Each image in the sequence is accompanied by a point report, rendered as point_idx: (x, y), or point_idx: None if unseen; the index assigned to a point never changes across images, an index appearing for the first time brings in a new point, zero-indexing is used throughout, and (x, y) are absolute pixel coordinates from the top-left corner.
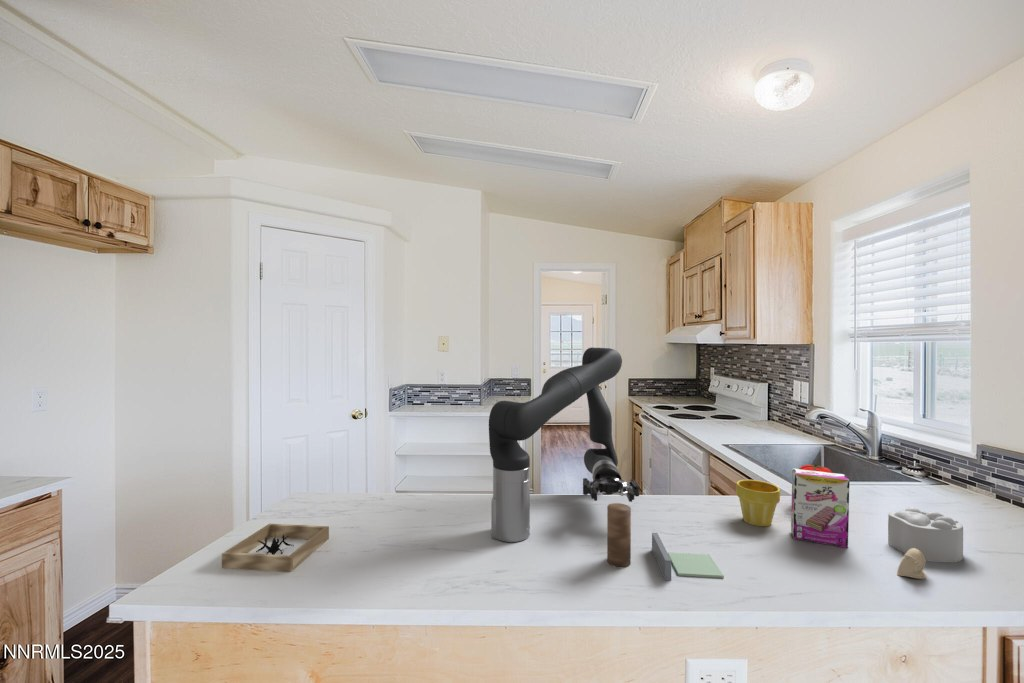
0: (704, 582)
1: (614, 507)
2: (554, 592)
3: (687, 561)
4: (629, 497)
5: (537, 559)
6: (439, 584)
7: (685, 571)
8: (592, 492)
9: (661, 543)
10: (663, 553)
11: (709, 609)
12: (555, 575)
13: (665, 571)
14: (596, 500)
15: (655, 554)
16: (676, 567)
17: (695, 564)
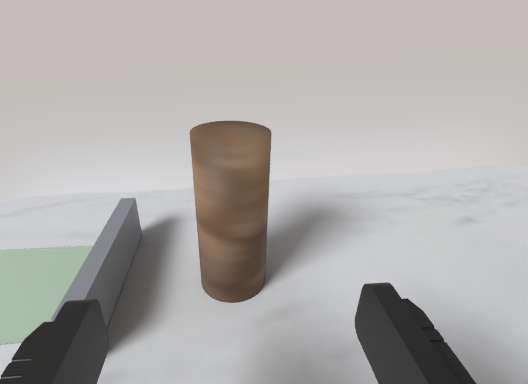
0: (55, 239)
1: (246, 130)
2: (343, 195)
3: (24, 293)
4: (102, 315)
5: (433, 259)
6: (511, 191)
7: (74, 252)
8: (412, 312)
9: (93, 253)
10: (122, 215)
11: (109, 192)
12: (362, 222)
13: (138, 219)
14: (358, 324)
15: (110, 305)
16: None
17: (13, 282)
